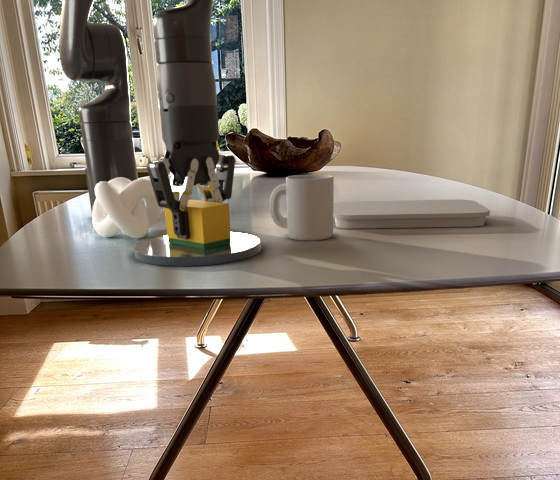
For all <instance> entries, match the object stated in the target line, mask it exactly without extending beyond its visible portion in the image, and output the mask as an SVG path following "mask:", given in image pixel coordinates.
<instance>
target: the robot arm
mask: <svg viewBox="0 0 560 480" xmlns="http://www.w3.org/2000/svg"><path fill="white" fill-rule="evenodd" d="M94 2H95V0H62V4H61V14H60V24H59V37H58V41H59V42H58V50H59V60H60V65H61V68H62V71H63V73H64V74H65V76H66V78H68V79H69V80H71V81H74V82H82V83H104V90H103V92H102V93H101V94H100V95H99V96H97V97H96V98H95V99H93V100H91V101H89V102H87V103H84V104H82V105H80V106H79V107H78V111H77V112H78V120H79V126H80V132H81V139H82V144H83V145H82V146H83V152H84V153H83V154H84V158H85V168H84V170H85V178H86V184H87V191H88V198H89V203H90V210H91V211H90V212H91V213H92V212H93V206H94V202H95V199H96V196H95V186H96V184H97V183H99V182H101V181H107V182H108V181H110V180H112V179H114V178H118V177H123V178H127V179H129V180H130V181H134V180H137V179H139V177H138V175H139V174H138V169H137V168H138V167H137V160H136V159H137V158H136V152H135V142H134V134H133V125H132V118H131V117H132V116H131V96H130V84H129V72H128V70H129V69H128V56H127V47H126V43H125V39H124V36H123V33H122V31H121V29H120V28H119V27H118V26H117V25H115V24H112V23H99V22H98V23H97V22H89V17H90V13H91V10H92V7H93V4H94ZM213 4H214V0H186V2H185V4H183V5H180V6H175V7H169V8H166V9H163V10H160V11H158V12H157V13H155V15H154V16H153V21H152V28H153V38H154V39H153V40H154V50H155V51H154V52H155V59H156V60H155V61H156V64H157V65H156V90H157V101H158V110H159V119H160V129H161V130H160V131H161V140H162V142H163V143H164V146H165V152H164V156H163V158H161V159H159V160H156V161H148V162H147V163H146V170H147V174H148V177H149V180H151V184H152V187H153V190H154V194H155V197H156V200H157V203H158V206H159V207H163V209H164V208H168V209H170V210H171V212H172V219H173V229H174V233H175V235H176V236H177V238H179V239H189V238H190V229H189V218H188V211H186V209H187V204H188V200H190V199H189V198H190V196H191V195H192V194H193V190H194V187H195V186H196V187H197V188H198V190H199V191H201V194H202V196H203V200H204V201H209V202H219V203H224V202H225V201H226V200H230V199H232V195H233V185H234V177H235V176H234V175H235V167H236V157H235V155H233V154H220V152H219V149H218V147H217V142H218V140H219V139H220V127H219V126H220V125H219V113H218V99H217V97H218V96H217V84H216V76H215V72H214V66H213V54H212V53H213V51H212V36H211V25H212V24H211V23H212V13H213ZM170 174H171V177H169V176H170Z"/></svg>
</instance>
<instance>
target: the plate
mask: <svg viewBox="0 0 560 480" xmlns="http://www.w3.org/2000/svg"><path fill="white" fill-rule="evenodd" d="M261 251H262V240H261V239H260V238H259V237H257V236H255V235H252V234H248V233H242V232H233V231H231V244H227V245H223V246H219V247H214V248H210V249H206V250H203V249H198V248H193V247H187V246H182V245H176V244H171V243H168V237H167V234H166V235H161V236H156V237H151V238H148V239H145V240H142V241H140V242H138V243H136V244H135V245H134V246H133V254H134V258H135V259H136V260H137V261H139V262H141V263H145V264H150V265H154V266H155V265H156V266H166V267H200V266H212V265H220V264H226V263H227V264H228V263H232V262H238V261H242V260H245V259H249V258H252V257H255V256H256V255H258V254H259V253H260V252H261Z"/></svg>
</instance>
